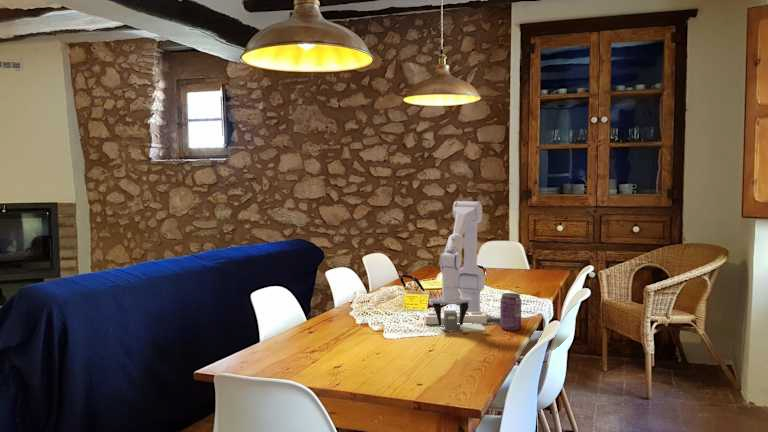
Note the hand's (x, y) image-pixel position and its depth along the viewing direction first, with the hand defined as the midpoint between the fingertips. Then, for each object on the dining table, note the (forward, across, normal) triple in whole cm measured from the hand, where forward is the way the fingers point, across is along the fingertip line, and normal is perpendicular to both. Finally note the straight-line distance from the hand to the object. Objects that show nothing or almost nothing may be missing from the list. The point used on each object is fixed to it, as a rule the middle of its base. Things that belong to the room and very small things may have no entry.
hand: (450, 324), depth 213 cm
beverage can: (+2, +21, -2) cm, 21 cm away
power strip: (+1, +6, +7) cm, 10 cm away
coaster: (+1, +8, 0) cm, 8 cm away
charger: (+1, 0, +1) cm, 2 cm away
